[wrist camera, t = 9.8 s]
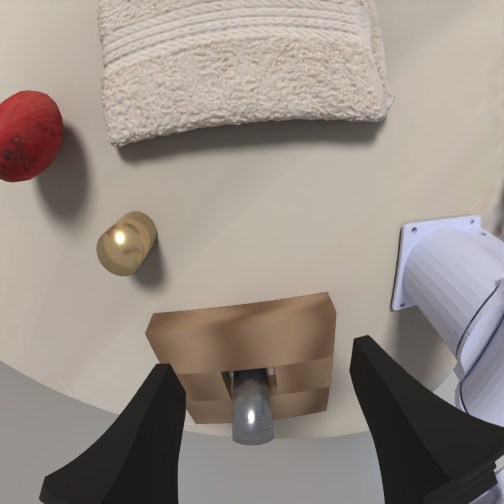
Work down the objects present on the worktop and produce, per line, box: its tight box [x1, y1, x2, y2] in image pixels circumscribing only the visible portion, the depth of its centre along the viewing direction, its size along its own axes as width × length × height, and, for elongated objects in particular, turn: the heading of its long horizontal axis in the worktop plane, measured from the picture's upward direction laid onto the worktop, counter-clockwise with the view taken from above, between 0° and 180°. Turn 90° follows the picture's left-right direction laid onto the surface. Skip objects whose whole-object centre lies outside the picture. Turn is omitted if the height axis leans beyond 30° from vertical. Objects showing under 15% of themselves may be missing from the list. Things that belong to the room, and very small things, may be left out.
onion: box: [0, 90, 64, 182], centre depth 10 cm, size 6×6×8 cm
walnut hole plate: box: [145, 292, 336, 424], centre depth 22 cm, size 14×14×2 cm
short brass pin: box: [97, 212, 157, 276], centre depth 16 cm, size 3×3×4 cm
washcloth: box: [97, 0, 395, 148], centre depth 12 cm, size 12×18×3 cm, turn 97°
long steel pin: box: [233, 367, 274, 445], centre depth 20 cm, size 3×3×8 cm
